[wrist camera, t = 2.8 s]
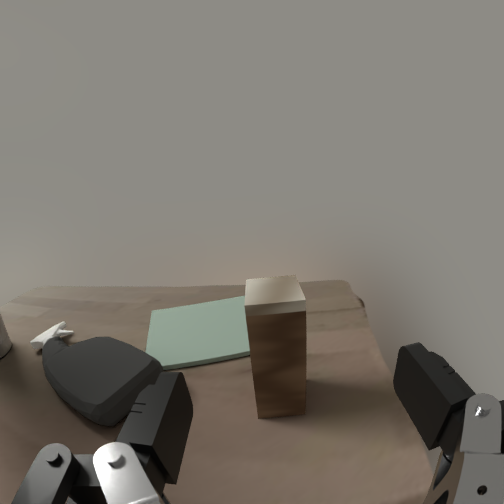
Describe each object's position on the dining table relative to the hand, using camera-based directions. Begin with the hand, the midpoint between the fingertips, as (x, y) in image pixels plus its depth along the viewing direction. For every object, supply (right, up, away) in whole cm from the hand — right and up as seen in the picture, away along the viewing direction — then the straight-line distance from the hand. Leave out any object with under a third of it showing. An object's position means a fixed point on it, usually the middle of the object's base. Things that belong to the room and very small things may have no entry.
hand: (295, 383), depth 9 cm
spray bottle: (-23, -10, +19) cm, 31 cm away
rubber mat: (-7, -6, +28) cm, 30 cm away
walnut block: (+1, -9, +14) cm, 16 cm away
